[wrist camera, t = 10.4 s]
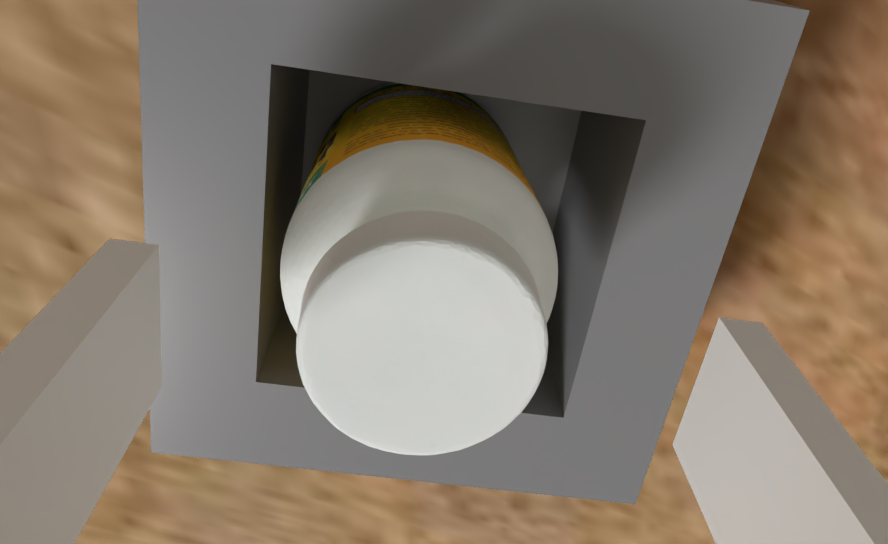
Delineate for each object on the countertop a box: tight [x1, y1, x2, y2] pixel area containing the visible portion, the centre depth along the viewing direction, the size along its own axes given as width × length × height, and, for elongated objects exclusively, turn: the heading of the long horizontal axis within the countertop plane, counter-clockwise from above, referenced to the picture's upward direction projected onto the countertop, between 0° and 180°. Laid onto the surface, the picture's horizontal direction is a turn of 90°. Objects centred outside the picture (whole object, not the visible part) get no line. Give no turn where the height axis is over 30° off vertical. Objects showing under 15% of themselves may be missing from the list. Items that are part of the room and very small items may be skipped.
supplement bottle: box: [280, 82, 558, 455], centre depth 16 cm, size 5×5×10 cm
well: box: [138, 0, 810, 504], centre depth 18 cm, size 12×12×6 cm
